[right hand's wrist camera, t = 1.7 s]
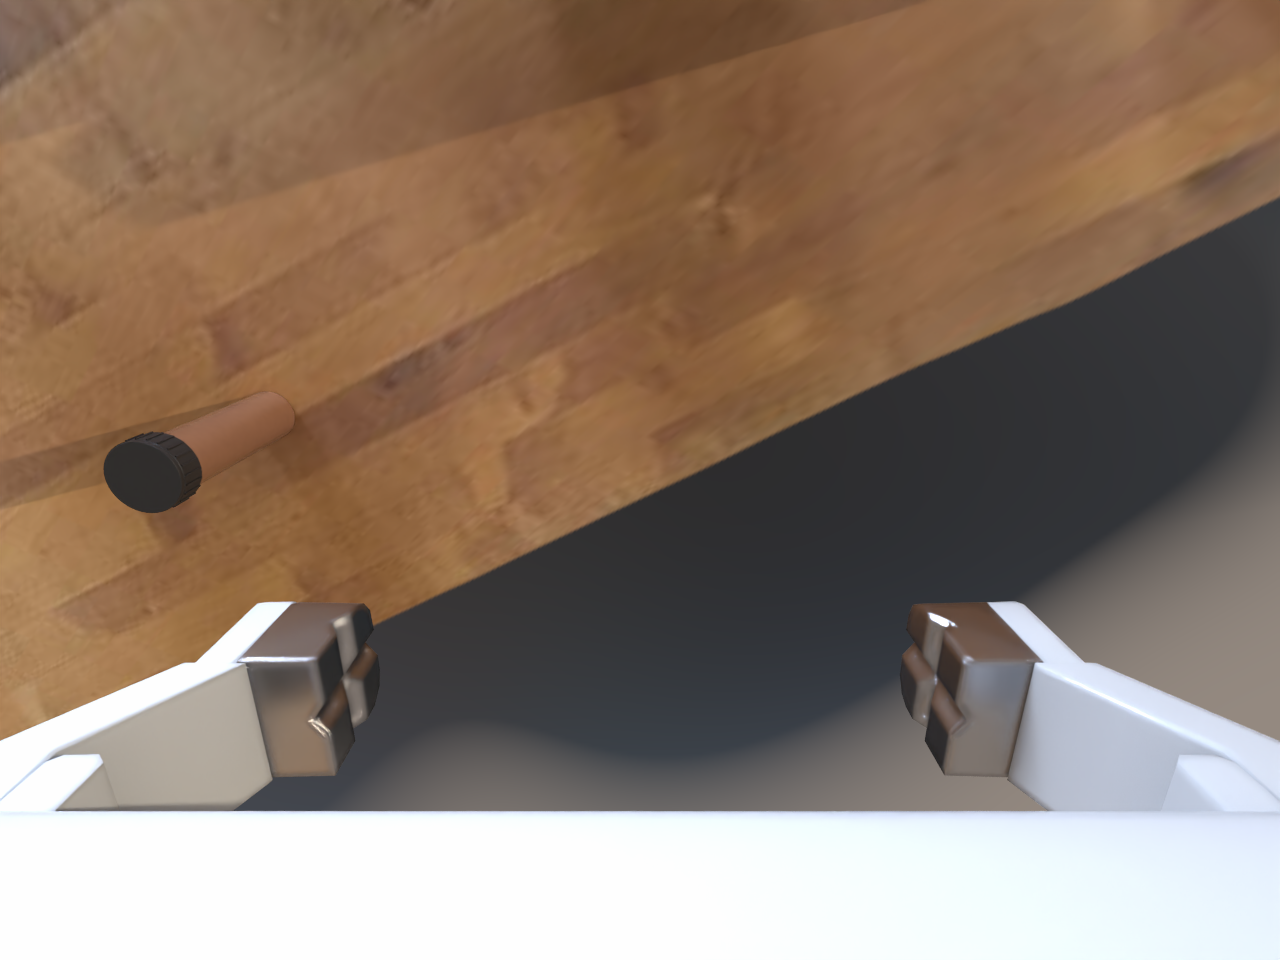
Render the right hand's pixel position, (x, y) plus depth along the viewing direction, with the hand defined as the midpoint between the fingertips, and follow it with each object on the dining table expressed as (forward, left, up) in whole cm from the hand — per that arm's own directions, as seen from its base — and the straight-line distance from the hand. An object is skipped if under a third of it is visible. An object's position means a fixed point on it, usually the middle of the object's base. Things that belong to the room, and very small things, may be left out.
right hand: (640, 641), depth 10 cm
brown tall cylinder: (+9, -32, -48) cm, 58 cm away
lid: (+9, -32, -32) cm, 46 cm away
